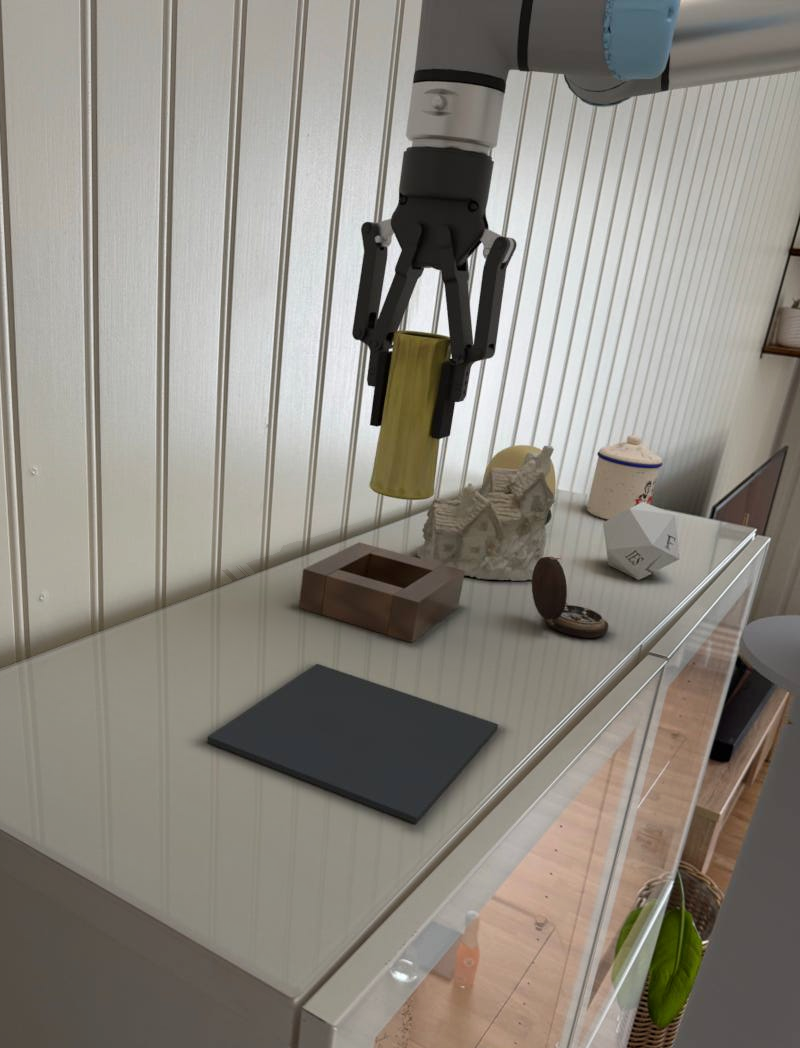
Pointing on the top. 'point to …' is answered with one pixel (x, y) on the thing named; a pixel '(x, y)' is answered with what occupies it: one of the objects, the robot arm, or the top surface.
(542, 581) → the compass
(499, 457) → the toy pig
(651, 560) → the die
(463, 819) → the top surface
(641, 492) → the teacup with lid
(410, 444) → the vase
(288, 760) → the mat
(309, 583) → the holder
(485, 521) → the ceramic cottage
